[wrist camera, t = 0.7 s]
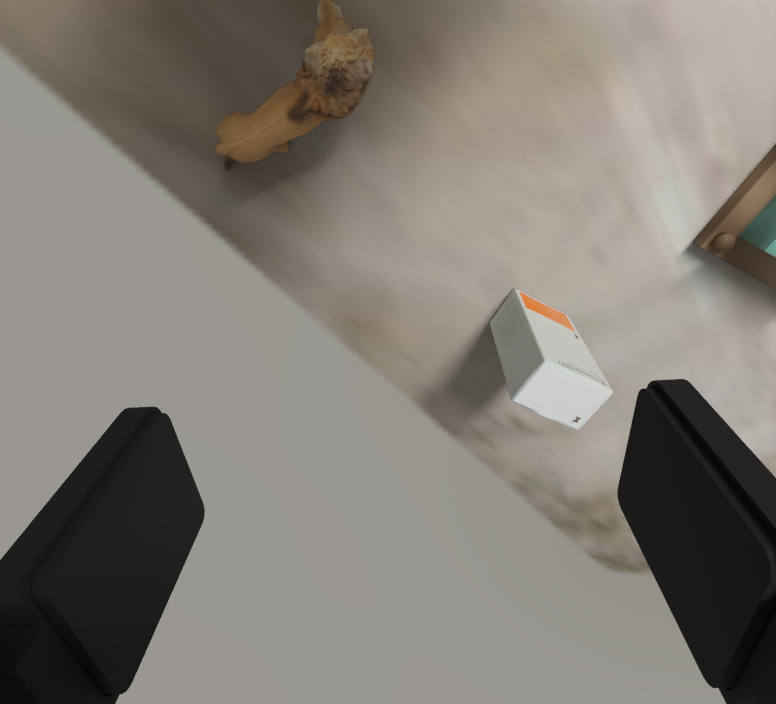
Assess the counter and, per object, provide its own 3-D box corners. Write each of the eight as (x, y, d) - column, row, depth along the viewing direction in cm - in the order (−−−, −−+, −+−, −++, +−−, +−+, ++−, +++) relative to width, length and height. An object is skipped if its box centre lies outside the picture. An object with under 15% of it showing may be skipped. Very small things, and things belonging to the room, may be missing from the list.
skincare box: (569, 313, 44) (617, 393, 34) (541, 348, 46) (578, 434, 36) (512, 284, 43) (545, 359, 33) (486, 322, 45) (509, 403, 35)
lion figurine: (349, -6, 32) (330, -21, 25) (398, 67, 34) (395, 74, 27) (203, 140, 37) (151, 165, 30) (254, 196, 40) (217, 233, 32)
